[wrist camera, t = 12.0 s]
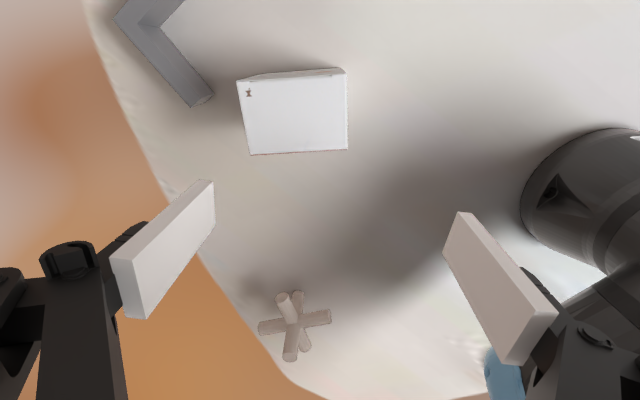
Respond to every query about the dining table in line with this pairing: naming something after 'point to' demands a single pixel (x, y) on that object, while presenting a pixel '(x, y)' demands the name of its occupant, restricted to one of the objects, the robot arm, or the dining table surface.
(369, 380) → the dining table surface
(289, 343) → the pipe connector
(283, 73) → the small box
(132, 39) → the square bracket
